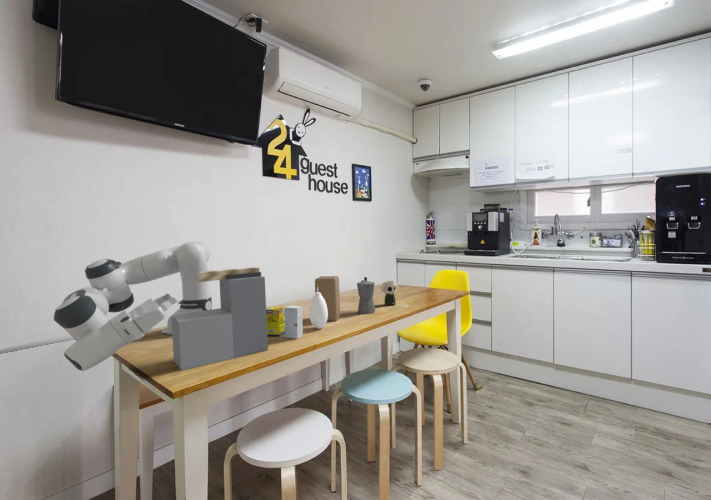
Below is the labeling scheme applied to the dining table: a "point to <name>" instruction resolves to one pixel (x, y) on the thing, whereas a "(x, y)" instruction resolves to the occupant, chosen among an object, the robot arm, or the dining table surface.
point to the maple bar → (224, 273)
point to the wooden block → (329, 294)
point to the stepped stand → (224, 324)
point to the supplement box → (275, 321)
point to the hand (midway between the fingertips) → (172, 297)
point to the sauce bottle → (318, 311)
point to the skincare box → (293, 322)
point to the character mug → (389, 291)
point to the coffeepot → (366, 296)
